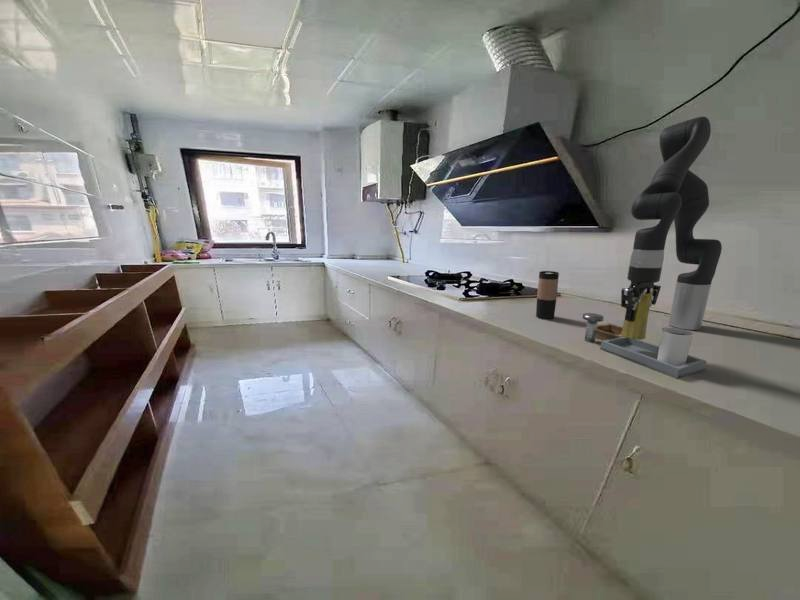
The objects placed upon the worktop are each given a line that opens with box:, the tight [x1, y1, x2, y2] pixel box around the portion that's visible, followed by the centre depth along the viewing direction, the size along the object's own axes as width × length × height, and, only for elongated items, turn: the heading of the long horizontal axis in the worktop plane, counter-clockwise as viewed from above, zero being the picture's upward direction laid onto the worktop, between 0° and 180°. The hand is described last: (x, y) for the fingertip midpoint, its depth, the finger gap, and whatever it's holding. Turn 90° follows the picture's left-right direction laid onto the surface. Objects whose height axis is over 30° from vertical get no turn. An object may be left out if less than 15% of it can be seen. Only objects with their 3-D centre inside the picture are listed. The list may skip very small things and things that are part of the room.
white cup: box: [657, 326, 694, 366], centre depth 83 cm, size 7×7×10 cm
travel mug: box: [535, 270, 560, 321], centre depth 129 cm, size 8×8×20 cm
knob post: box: [582, 312, 604, 343], centre depth 103 cm, size 6×6×9 cm
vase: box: [621, 292, 652, 340], centre depth 91 cm, size 6×6×14 cm
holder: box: [595, 322, 623, 341], centre depth 106 cm, size 11×11×3 cm
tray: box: [599, 336, 708, 380], centre depth 89 cm, size 12×21×3 cm, turn 20°
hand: (636, 319), depth 92 cm, fingers closed on vase, 5 cm apart
